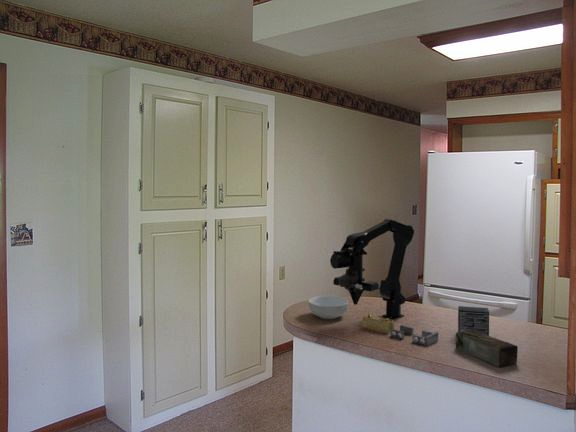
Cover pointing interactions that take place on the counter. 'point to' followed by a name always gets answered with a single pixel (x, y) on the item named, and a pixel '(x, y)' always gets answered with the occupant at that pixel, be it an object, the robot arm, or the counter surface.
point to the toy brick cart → (425, 339)
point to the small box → (473, 319)
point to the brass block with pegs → (378, 323)
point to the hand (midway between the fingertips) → (355, 304)
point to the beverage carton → (487, 348)
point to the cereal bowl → (328, 306)
